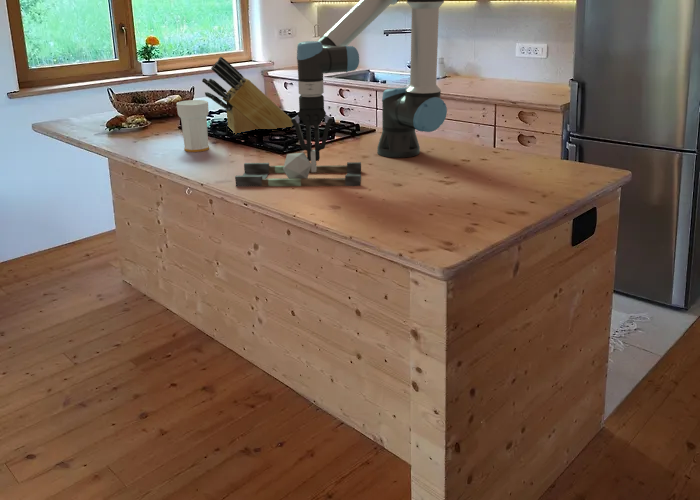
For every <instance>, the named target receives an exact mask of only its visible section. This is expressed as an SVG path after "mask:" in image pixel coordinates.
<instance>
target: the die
mask: <svg viewBox="0 0 700 500" xmlns="http://www.w3.org/2000/svg"><path fill="white" fill-rule="evenodd" d="M283 166H284V167H283V170H284V172H285V173H284V174H285V175H286V176H287V178H309V175H310V173H309V171H310V168H311V161H309V160H308V159H307V154H305V152H297V153H286V157H285V160H284V165H283Z"/></svg>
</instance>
